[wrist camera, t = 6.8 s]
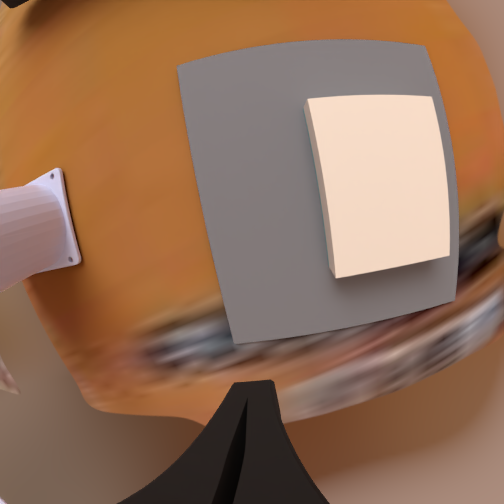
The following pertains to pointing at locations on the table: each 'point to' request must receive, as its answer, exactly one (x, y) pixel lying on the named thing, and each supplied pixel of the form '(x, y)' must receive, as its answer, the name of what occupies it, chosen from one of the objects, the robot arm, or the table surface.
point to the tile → (379, 180)
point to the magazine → (14, 3)
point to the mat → (298, 184)
